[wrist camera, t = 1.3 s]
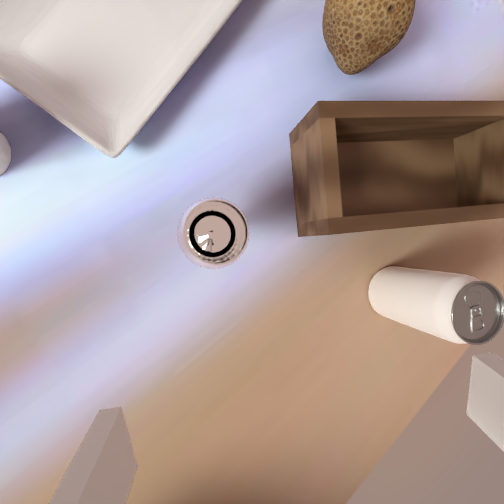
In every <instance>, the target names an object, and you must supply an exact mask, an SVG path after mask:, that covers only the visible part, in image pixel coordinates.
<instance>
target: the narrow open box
mask: <svg viewBox="0 0 504 504" xmlns="http://www.w3.org/2000/svg"><path fill="white" fill-rule="evenodd" d="M289 136H290V147H291V159H292V170H293V182H294V193H295V205H296V217H297V228H298V237H302V236H317V235H331V234H341V233H351V232H362V231H372V230H382V229H393V228H403V227H413V226H424V225H434V224H444V223H455V222H465V221H476V220H486V219H496V218H504V101H318V102H317V103H316V104H315V105H314V106H313V107H312V109H311V110H310V111H309V112H308V113H307V114H306V115H305V117H304V118H303V119H302V120H301V121H300V122H299V123H298V125H297V126H296V127H295V128H294V129H293V130H292V131H291V133H290V134H289Z"/></svg>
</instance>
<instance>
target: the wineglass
mask: <svg viewBox="0 0 504 504" xmlns="http://www.w3.org/2000/svg"><path fill="white" fill-rule="evenodd" d="M249 235H250V232H249V225H248V221H247V219H246V217H245V215H244V213H243V212H242V211H241V210H240V209H239V208H238V207H237V206H236V205H235V204H233V203H232V202H230V201H228V200H225V199H222V198H215V197H211V198H204V199H201V200H199V201H197V202H195V203H193V204H192V205H191V206H189V207H188V208H187V209H186V210H185V212H184V213H183V214H182V216H181V218H180V220H179V224H178V229H177V237H178V243H179V245H180V248H181V250H182V252H183V253H184V255H185V256H186V257H187V258H188V259H189V260H190V261H191V262H193V263H194V264H196V265H198V266H200V267H204V268H207V269H219V268H224V267H226V266H229V265H231V264H233V263H234V262H235V261H237V260H238V259H239V258H240V257H241V255H242V254H243V253H244V251H245V249H246V248H247V245H248V242H249Z"/></svg>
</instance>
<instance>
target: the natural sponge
mask: <svg viewBox="0 0 504 504" xmlns="http://www.w3.org/2000/svg"><path fill="white" fill-rule="evenodd" d="M414 7H415V0H326V1H325V7H324V14H323V35H324V39H325V42H326V44H327V47H328V49H329V51H330V52H331V54H332V55H333V57H334V60H335V62H336V64H337V66H338V67H339V69H340V70H341V71H342V72H343V73H345V74H348V75H352V74H356V73H359V72H360V71H362V70H364V69H365V68H367V67H368V66H369V65H371V64H372V63H373V62H375V61H376V60H377V59H379V58H380V57H382V56H383V55H385V54H387V53H388V52H389V51H391V50H392V49H393V48H394V47H395V46H396V45H397V44H398V43H399V42H400V41H401V40H402V38H403V37H404V35H405V34H406V32H407V30H408V28H409V25H410V23H411V20H412V17H413V12H414Z"/></svg>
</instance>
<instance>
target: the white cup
mask: <svg viewBox="0 0 504 504" xmlns="http://www.w3.org/2000/svg"><path fill="white" fill-rule="evenodd" d="M10 162H11V148H10V145H9V143H8V141H7V138H6V137H5V136H4V135H3V134H2V133H1V132H0V175H2V174H3V173H4V172H5V171H6V170H7V168H8V166H9V164H10Z"/></svg>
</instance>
